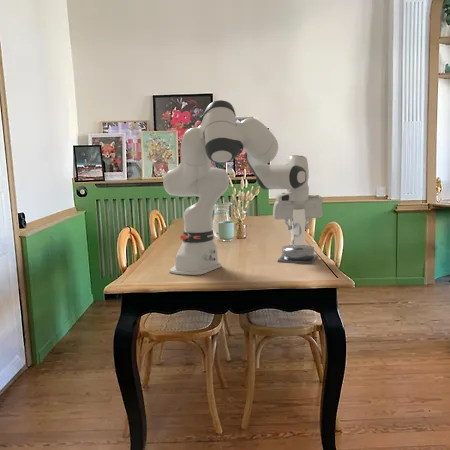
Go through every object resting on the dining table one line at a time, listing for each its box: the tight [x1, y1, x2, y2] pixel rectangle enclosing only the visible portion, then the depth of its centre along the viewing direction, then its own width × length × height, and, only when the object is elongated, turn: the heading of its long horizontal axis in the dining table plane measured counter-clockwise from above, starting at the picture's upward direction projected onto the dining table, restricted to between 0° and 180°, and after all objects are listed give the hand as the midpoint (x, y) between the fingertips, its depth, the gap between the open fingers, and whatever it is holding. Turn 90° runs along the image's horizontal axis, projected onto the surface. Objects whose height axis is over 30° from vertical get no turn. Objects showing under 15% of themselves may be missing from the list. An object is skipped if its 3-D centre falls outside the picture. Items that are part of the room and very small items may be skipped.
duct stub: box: [277, 244, 319, 265], centre depth 201 cm, size 14×14×5 cm
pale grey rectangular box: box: [288, 209, 307, 246], centre depth 200 cm, size 7×7×15 cm
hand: (297, 229), depth 200 cm, fingers closed on pale grey rectangular box, 6 cm apart
